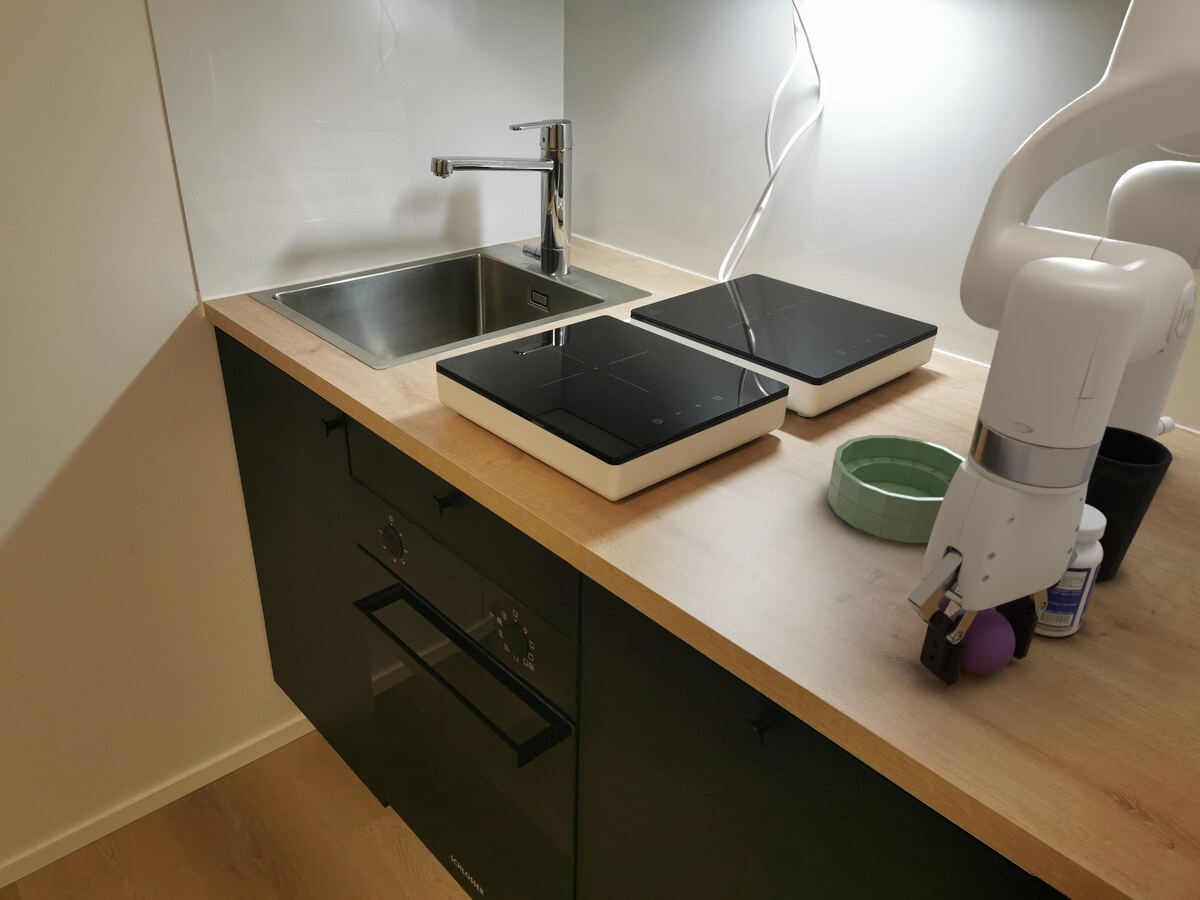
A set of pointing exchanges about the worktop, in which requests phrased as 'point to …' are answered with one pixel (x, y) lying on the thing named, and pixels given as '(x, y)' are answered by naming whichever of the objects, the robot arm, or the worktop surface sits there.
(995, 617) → the ball
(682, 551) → the worktop surface
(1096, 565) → the pill bottle
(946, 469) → the bowl
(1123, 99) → the robot arm
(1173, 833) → the worktop surface
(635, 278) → the worktop surface
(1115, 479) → the cup
